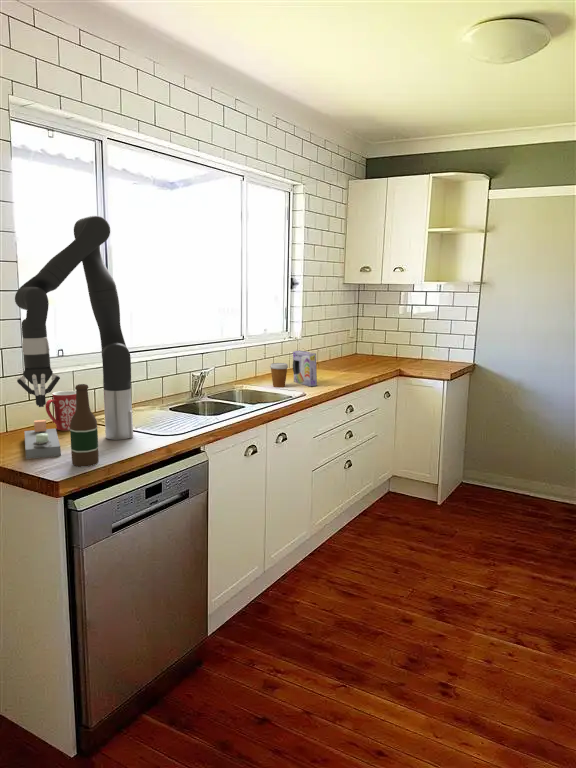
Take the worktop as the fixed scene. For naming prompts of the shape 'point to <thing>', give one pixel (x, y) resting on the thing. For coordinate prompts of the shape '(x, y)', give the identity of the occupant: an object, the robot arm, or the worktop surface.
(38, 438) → the green push button
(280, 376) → the disposable coffee cup
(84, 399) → the beer bottle
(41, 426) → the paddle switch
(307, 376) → the cake pan box
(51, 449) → the control panel
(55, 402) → the mug
